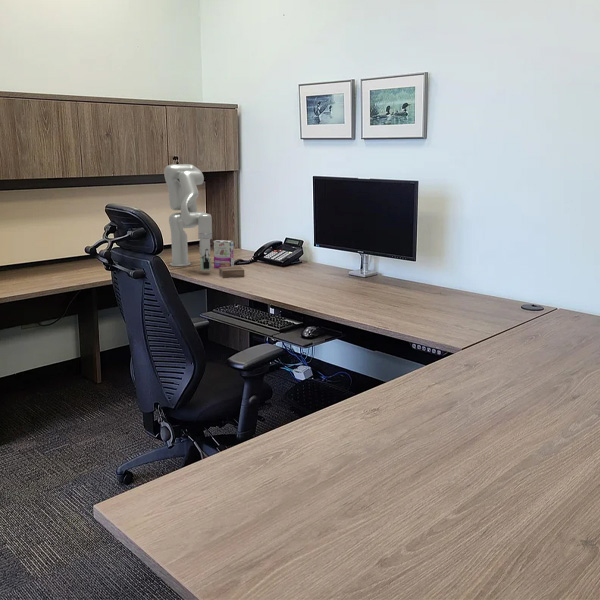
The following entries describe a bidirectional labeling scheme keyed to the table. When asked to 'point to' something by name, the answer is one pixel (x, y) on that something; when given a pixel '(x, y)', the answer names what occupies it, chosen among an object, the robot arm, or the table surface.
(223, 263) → the candy bar box
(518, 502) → the table surface
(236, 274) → the walnut block
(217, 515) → the table surface
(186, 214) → the robot arm
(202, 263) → the sage block
